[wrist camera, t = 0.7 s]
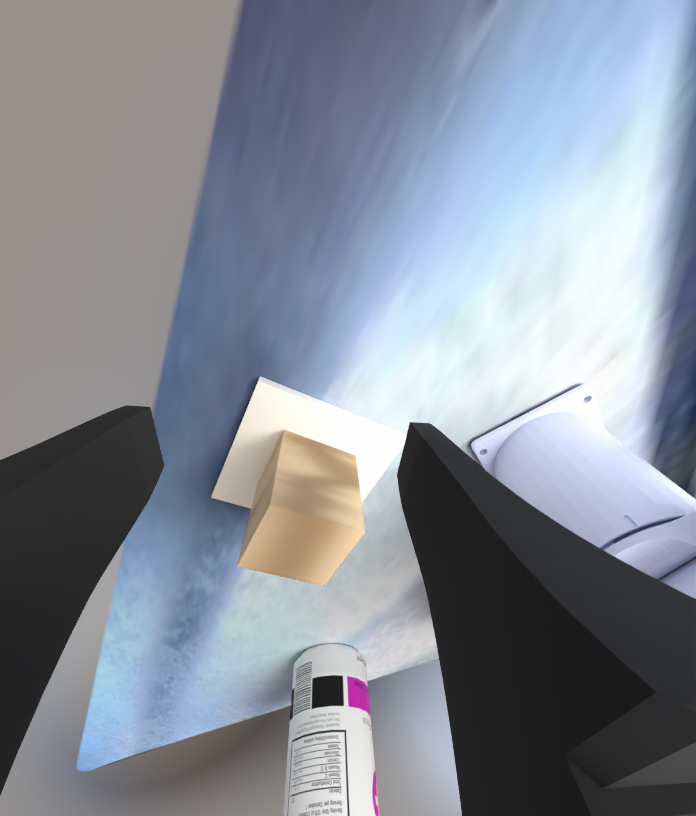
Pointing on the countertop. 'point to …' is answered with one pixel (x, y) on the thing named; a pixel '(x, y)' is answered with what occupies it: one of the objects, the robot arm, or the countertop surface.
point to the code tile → (310, 419)
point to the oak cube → (304, 511)
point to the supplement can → (330, 736)
